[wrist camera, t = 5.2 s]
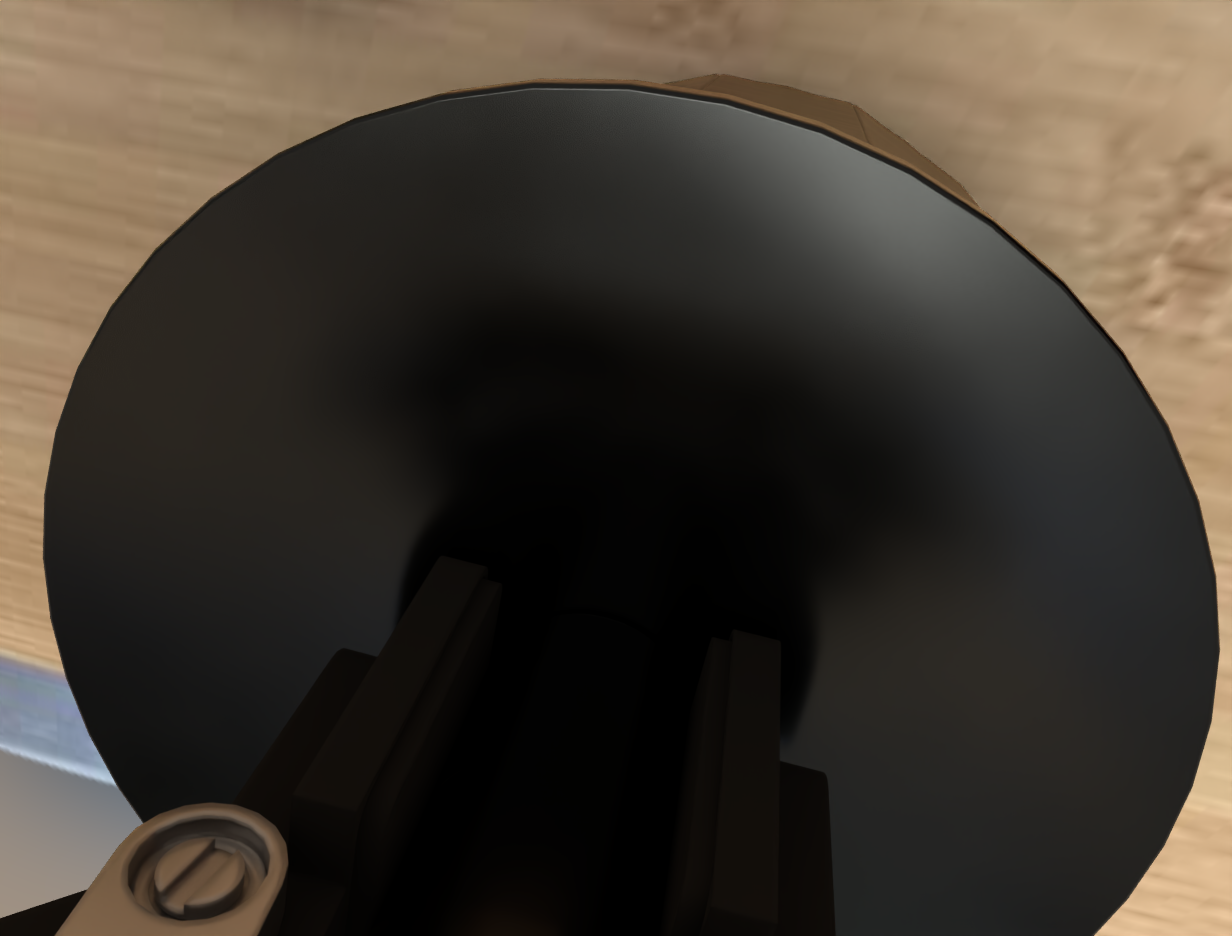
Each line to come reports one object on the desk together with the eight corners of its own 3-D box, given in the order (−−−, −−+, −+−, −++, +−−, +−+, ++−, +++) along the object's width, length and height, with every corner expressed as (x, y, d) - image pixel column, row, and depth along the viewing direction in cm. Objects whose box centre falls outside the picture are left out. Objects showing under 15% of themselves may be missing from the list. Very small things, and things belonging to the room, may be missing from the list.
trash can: (396, 567, 25) (181, 862, 16) (465, 12, 20) (200, 22, 11) (907, 702, 24) (961, 1087, 16) (1123, 162, 19) (1386, 296, 10)
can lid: (104, 885, 16) (-243, 1340, 11) (81, -59, 10) (-695, -115, 5) (952, 1118, 16) (1042, 1729, 10) (1428, 245, 10) (2243, 567, 4)
